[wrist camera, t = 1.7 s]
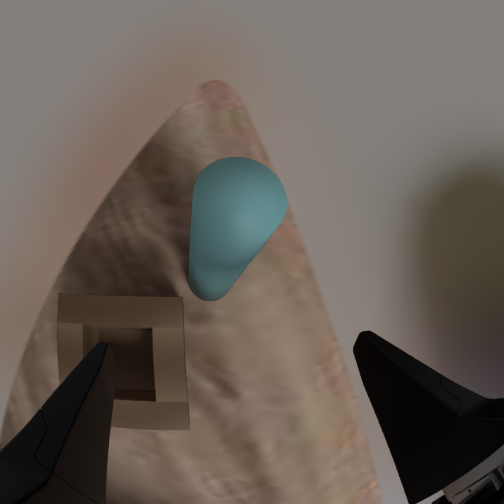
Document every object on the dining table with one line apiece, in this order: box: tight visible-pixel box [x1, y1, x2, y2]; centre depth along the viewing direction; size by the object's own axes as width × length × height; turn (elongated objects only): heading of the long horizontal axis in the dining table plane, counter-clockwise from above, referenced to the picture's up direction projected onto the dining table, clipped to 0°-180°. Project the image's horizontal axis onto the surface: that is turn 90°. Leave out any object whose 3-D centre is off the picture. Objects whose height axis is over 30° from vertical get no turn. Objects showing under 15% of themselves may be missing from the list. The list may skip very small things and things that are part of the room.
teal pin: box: [188, 157, 287, 301], centre depth 16 cm, size 3×3×13 cm
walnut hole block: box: [58, 293, 190, 430], centre depth 16 cm, size 8×8×4 cm
